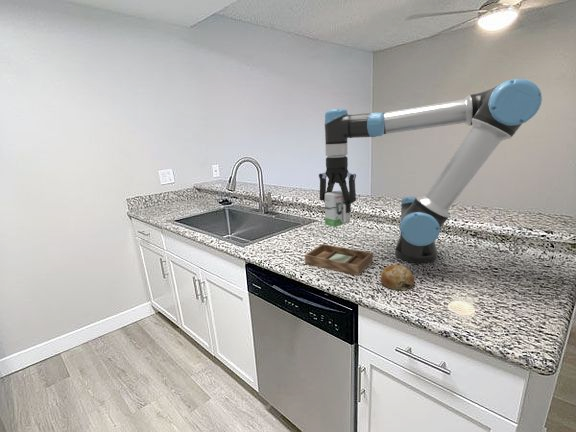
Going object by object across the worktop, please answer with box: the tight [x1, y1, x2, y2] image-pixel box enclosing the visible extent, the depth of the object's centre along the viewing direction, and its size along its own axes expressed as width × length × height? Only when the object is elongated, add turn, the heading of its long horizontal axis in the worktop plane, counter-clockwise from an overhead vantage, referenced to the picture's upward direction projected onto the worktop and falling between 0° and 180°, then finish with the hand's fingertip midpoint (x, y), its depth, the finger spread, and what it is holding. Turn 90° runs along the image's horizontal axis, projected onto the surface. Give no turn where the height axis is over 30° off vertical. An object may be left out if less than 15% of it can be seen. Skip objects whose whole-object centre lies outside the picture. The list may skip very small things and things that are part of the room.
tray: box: [304, 243, 374, 277], centre depth 116 cm, size 22×14×4 cm, turn 54°
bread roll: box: [379, 264, 415, 291], centre depth 97 cm, size 10×10×8 cm
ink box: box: [324, 189, 351, 228], centre depth 111 cm, size 9×5×12 cm, turn 128°
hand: (337, 220), depth 112 cm, fingers closed on ink box, 6 cm apart
